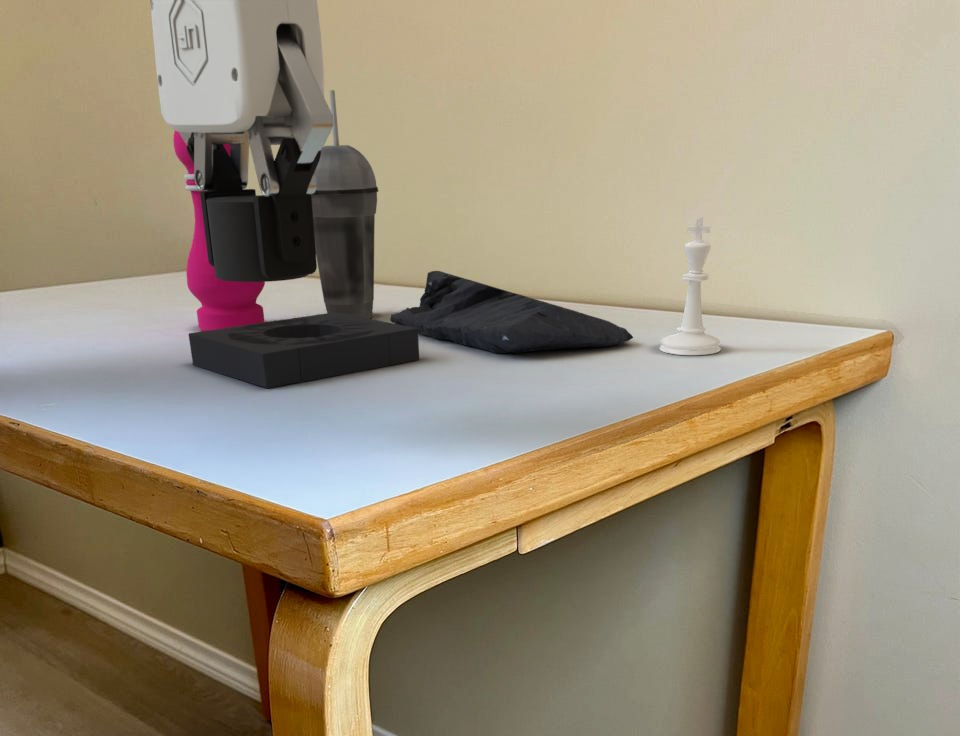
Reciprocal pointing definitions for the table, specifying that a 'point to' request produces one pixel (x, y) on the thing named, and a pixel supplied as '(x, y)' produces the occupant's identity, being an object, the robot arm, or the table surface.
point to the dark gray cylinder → (236, 240)
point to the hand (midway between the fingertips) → (261, 266)
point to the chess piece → (693, 303)
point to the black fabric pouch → (502, 319)
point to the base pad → (303, 348)
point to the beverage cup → (345, 226)
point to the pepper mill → (218, 297)
